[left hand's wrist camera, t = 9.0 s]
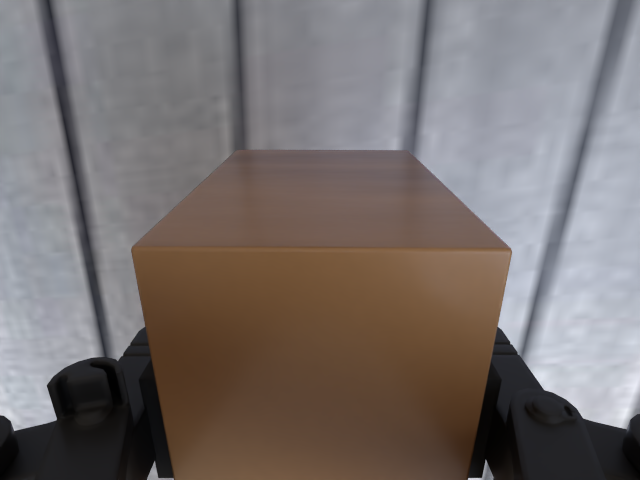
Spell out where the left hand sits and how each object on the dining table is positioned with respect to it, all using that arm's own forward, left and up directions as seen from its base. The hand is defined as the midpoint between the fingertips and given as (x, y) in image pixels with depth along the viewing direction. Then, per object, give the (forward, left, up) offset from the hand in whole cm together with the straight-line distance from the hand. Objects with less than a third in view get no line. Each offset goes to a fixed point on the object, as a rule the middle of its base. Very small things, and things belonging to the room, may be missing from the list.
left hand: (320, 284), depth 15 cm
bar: (+19, +13, -1) cm, 23 cm away
